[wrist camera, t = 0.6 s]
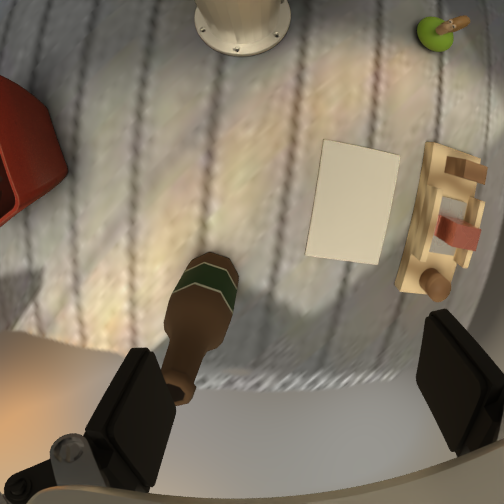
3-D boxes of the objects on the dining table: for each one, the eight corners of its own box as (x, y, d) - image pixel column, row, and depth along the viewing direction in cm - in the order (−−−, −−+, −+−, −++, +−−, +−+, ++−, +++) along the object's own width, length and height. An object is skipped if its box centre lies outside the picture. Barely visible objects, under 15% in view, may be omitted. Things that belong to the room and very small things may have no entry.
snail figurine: (399, 30, 32) (438, 3, 21) (428, 18, 31) (469, -7, 20) (420, 62, 34) (465, 44, 23) (447, 48, 32) (493, 31, 21)
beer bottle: (250, 274, 46) (238, 396, 23) (216, 308, 48) (184, 434, 25) (208, 239, 44) (156, 340, 21) (176, 276, 46) (112, 388, 24)
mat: (323, 139, 39) (324, 139, 38) (398, 155, 39) (400, 155, 38) (304, 254, 44) (305, 255, 44) (376, 263, 44) (377, 264, 44)
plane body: (425, 141, 38) (453, 144, 31) (471, 157, 38) (501, 162, 31) (394, 284, 45) (412, 308, 38) (439, 289, 45) (460, 311, 38)
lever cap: (437, 194, 38) (460, 204, 32) (463, 201, 38) (487, 211, 32) (424, 248, 41) (444, 264, 35) (450, 253, 41) (471, 268, 35)
